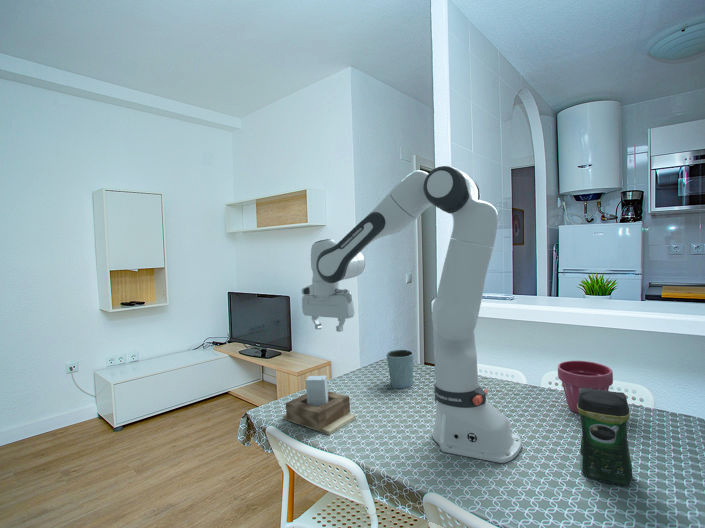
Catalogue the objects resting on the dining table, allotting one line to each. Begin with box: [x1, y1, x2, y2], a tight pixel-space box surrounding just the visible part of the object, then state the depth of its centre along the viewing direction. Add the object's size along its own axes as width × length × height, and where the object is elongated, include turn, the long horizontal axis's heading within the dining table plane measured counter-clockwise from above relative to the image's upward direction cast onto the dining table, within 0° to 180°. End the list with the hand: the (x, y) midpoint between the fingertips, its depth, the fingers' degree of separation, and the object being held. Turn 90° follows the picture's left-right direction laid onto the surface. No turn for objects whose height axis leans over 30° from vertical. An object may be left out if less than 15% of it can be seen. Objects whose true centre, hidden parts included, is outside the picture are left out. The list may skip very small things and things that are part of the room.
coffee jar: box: [577, 387, 633, 486], centre depth 83 cm, size 10×8×19 cm
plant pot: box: [557, 360, 614, 414], centre depth 115 cm, size 14×14×13 cm
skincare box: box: [305, 375, 329, 407], centre depth 120 cm, size 6×4×12 cm
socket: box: [282, 390, 357, 436], centre depth 120 cm, size 20×14×6 cm
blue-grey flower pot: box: [386, 349, 414, 389], centre depth 145 cm, size 10×10×12 cm
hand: (328, 330), depth 127 cm, fingers open, 8 cm apart
